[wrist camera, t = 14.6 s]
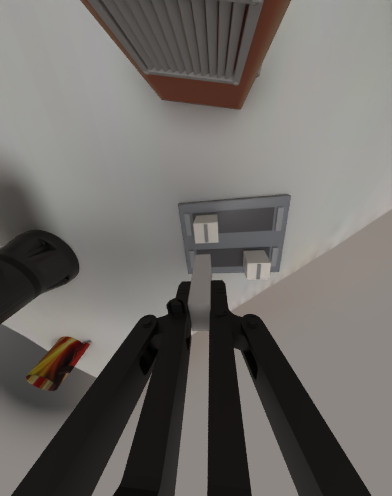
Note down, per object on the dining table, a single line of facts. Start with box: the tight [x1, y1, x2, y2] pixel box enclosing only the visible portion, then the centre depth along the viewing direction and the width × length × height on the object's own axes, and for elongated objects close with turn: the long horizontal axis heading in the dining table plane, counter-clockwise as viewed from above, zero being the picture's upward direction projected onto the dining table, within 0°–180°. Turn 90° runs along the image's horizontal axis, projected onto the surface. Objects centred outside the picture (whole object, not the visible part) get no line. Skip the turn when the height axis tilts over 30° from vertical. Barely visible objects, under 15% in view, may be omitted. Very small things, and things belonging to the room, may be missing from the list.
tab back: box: [243, 250, 271, 280], centre depth 31 cm, size 4×4×5 cm
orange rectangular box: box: [81, 0, 291, 109], centre depth 14 cm, size 21×7×15 cm
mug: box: [26, 337, 90, 391], centre depth 54 cm, size 10×14×12 cm
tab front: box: [193, 214, 219, 244], centre depth 29 cm, size 4×4×5 cm
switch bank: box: [178, 194, 291, 274], centre depth 33 cm, size 20×16×2 cm
